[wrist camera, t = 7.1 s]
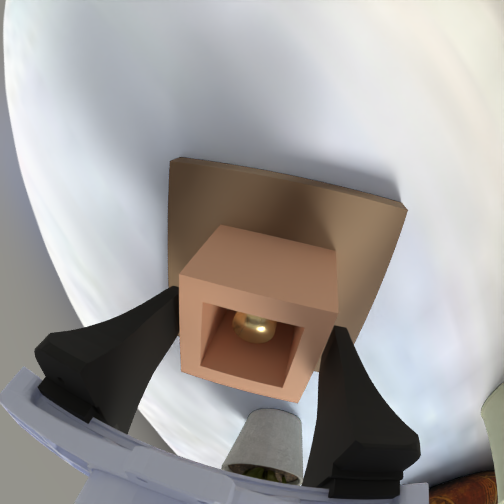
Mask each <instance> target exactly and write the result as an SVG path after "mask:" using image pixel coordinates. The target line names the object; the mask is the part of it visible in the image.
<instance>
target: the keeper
mask: <svg viewBox="0 0 504 504" xmlns="http://www.w3.org/2000/svg"><path fill="white" fill-rule="evenodd" d="M407 211H408V210H407V209H406V207H405V206H404V205H403V203H401V202H397V201H394V200H390V199H387V198H383V197H380V196H376V195H372V194H369V193H365V192H361V191H357V190H353V189H349V188H345V187H341V186H337V185H333V184H328V183H324V182H320V181H315V180H311V179H306V178H302V177H297V176H292V175H287V174H282V173H277V172H272V171H267V170H261V169H256V168H250V167H244V166H238V165H232V164H226V163H219V162H213V161H206V160H199V159H192V158H184V157H179V158H176V159H174V160H171V161H170V169H169V194H168V285H169V288H170V287H171V286H177V287H179V273H180V272H181V271H182V270H183V268H184V267H185V266H186V265H187V264H188V262H189V261H190V260H191V259H192V258H193V256H194V255H195V254H196V253H197V252H198V250H199V249H200V248H201V247H202V246H203V244H204V243H205V242H206V241H207V240H208V239H209V237H210V236H211V235H212V234H213V233H214V231H215V230H216V229H217V228H218V227H219V226H220V224H221V225H225V226H230V227H234V228H239V229H243V230H248V231H252V232H257V233H261V234H266V235H270V236H274V237H279V238H283V239H287V240H292V241H296V242H300V243H305V244H309V245H313V246H317V247H322V248H326V249H330V250H334V251H336V262H337V282H338V316H337V318H336V321H335V323H334V325H336V326H341V327H346V328H347V329H348V332H349V334H350V337H351V339H352V342H353V344H354V343H355V341H356V339H357V337H358V335H359V333H360V331H361V329H362V326H363V324H364V322H365V320H366V318H367V316H368V313H369V311H370V309H371V307H372V304H373V302H374V300H375V298H376V295H377V293H378V290H379V288H380V286H381V283H382V281H383V278H384V276H385V273H386V271H387V268H388V266H389V263H390V260H391V258H392V255H393V252H394V250H395V247H396V244H397V241H398V238H399V236H400V233H401V230H402V227H403V224H404V221H405V218H406V215H407ZM277 322H278V321H274V320H270V319H266V318H262V317H258V316H254V315H250V314H246V313H242V312H238V311H237V312H236V314H235V316H234V319H233V322H232V327H233V330H234V332H235V333H236V334H237V335H238V336H239V337H240V338H241V339H243V340H245V341H247V342H250V343H255V344H260V343H265V342H267V341H269V340H271V339H272V337H273V336H274V334H275V330H276V326H277ZM333 327H334V326H333ZM332 329H333V328H332ZM331 331H332V330H331ZM330 334H331V333H330ZM177 336H180V331H179V333H178V335H177ZM329 336H330V335H329ZM328 339H329V337H328ZM327 341H328V340H327ZM326 343H327V342H326ZM325 346H326V344H325ZM324 348H325V347H324ZM323 350H324V349H323ZM322 353H323V351H322ZM321 356H322V354H321ZM321 356H320V358H319V360H318V362H317V365H316V367H315V369H314V371H316V372H319V369H320V362H321Z"/></svg>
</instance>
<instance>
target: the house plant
mask: <svg viewBox="0 0 504 504" xmlns="http://www.w3.org/2000/svg"><path fill="white" fill-rule="evenodd" d="M221 470H225V471H228V472H232V473H236V474H240V475H244V476H249V477H253V478H258V479H262V480H267V481H273V482H278V483H284V484H291V485H297V486H300V485H301V484H302V482H303V451H302V423H301V421H300V419H299V418H298V417H296V416H295V415H293V414H290V413H288V412H285V411H281V410H278V409H260V410H256V411H254V412H252V413H251V414H250V415H249V417H248V419H247V420H246V422H245V424H244V426H243V428H242V430H241V432H240V434H239V436H238V437H237V439H236V441H235V443H234V445H233V447H232V449H231V450H230V452H229V454H228V456H227V458H226V459H225V461H224V463H223V465H222V468H221Z"/></svg>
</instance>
